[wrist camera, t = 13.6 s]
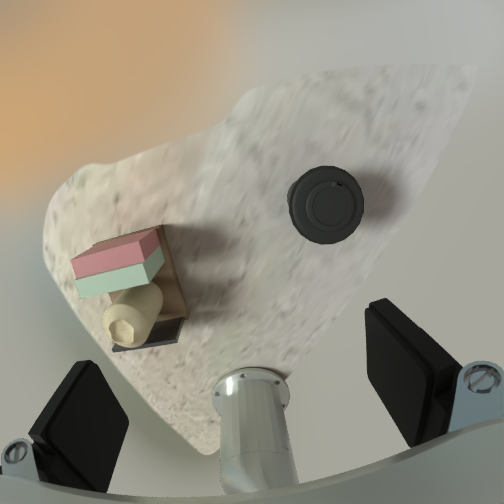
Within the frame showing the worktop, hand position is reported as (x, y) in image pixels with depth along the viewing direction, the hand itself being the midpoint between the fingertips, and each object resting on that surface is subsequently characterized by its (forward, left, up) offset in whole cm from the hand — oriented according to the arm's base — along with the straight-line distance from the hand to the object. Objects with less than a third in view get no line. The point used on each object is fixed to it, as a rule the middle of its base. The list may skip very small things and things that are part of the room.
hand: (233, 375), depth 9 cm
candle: (-7, +14, -29) cm, 33 cm away
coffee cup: (+1, -10, -31) cm, 32 cm away
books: (0, +14, -29) cm, 32 cm away
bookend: (-11, +14, -29) cm, 34 cm away
